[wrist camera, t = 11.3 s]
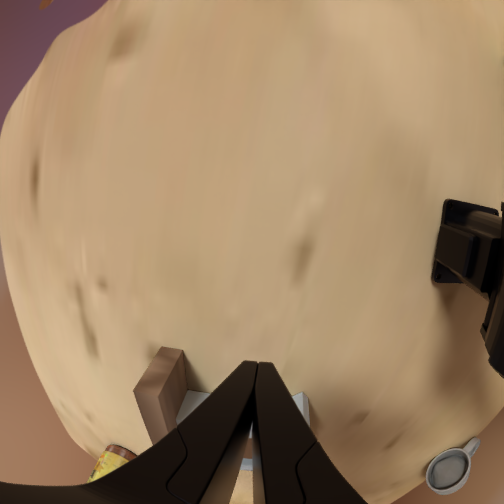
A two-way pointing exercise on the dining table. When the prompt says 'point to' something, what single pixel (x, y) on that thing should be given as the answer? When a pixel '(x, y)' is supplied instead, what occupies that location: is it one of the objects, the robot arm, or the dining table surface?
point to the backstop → (162, 392)
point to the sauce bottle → (110, 461)
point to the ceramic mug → (451, 468)
